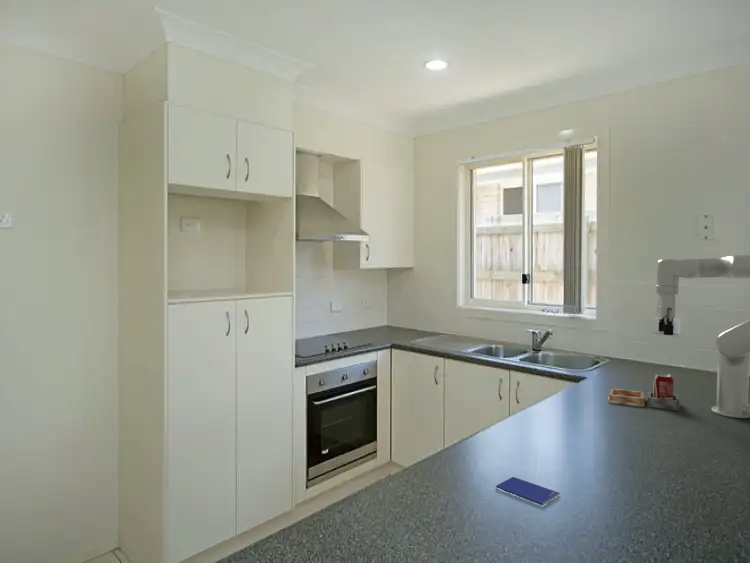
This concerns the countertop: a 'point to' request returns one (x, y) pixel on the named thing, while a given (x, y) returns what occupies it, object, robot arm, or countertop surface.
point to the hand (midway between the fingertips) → (665, 333)
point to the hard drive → (528, 490)
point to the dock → (642, 399)
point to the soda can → (663, 386)
